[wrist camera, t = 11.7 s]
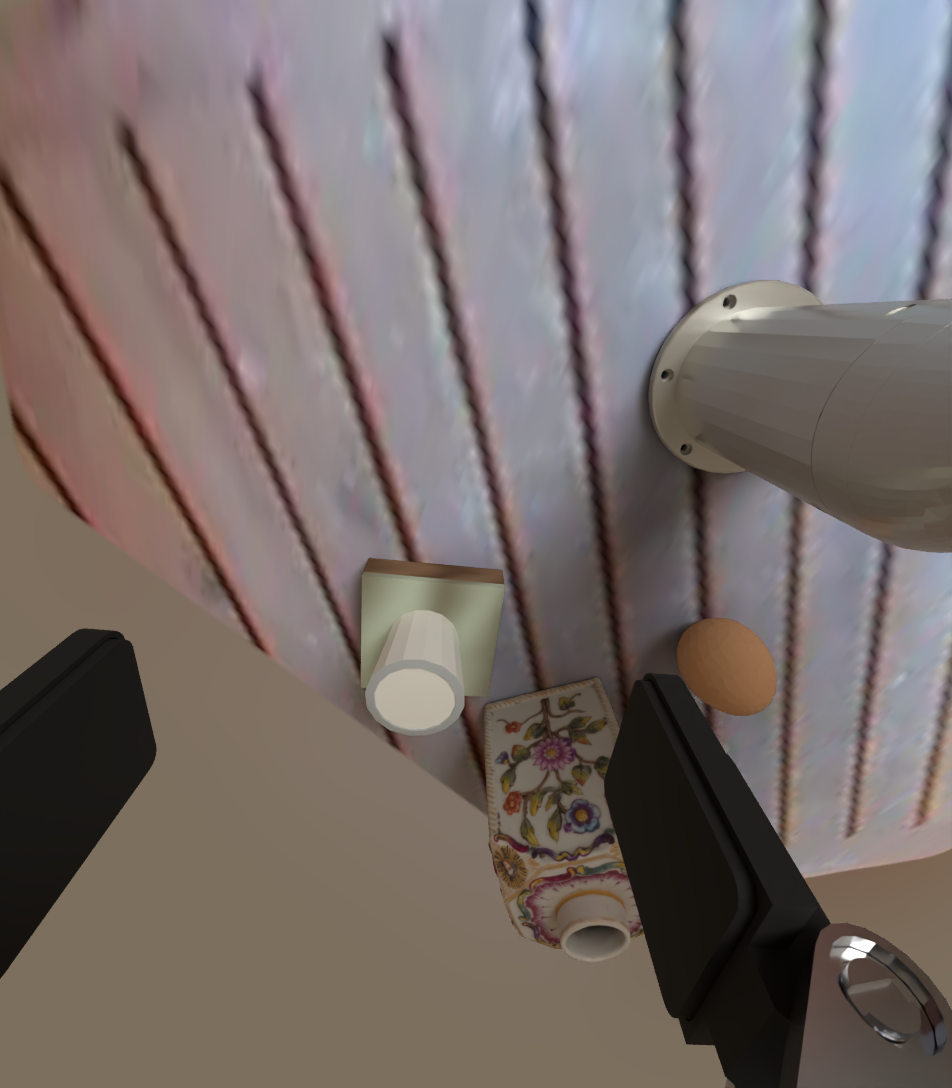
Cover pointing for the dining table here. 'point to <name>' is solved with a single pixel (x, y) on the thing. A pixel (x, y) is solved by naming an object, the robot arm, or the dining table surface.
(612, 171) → the dining table surface
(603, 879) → the decorative jar
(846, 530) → the dining table surface
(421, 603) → the plinth
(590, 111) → the dining table surface
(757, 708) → the egg
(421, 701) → the beige cylinder
